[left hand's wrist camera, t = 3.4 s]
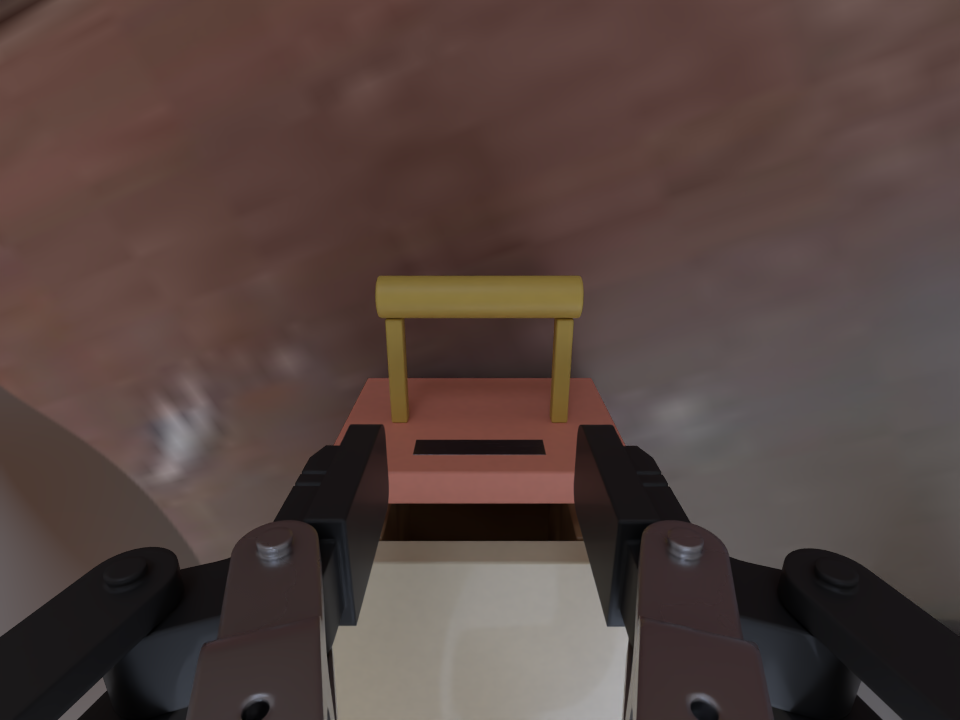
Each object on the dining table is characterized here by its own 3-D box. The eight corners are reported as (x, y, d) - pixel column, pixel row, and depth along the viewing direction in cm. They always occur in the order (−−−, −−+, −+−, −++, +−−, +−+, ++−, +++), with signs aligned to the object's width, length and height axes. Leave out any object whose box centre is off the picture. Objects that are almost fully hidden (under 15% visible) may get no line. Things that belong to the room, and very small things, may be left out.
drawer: (357, 255, 22) (297, 302, 15) (601, 255, 22) (660, 302, 15) (389, 653, 30) (360, 813, 22) (570, 653, 30) (599, 813, 22)
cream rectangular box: (363, 419, 26) (298, 562, 17) (596, 419, 26) (660, 562, 17) (385, 688, 32) (348, 900, 23) (573, 687, 32) (611, 900, 23)
